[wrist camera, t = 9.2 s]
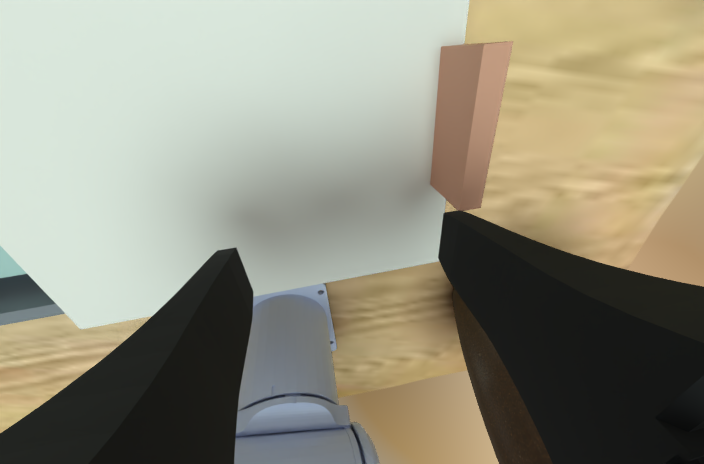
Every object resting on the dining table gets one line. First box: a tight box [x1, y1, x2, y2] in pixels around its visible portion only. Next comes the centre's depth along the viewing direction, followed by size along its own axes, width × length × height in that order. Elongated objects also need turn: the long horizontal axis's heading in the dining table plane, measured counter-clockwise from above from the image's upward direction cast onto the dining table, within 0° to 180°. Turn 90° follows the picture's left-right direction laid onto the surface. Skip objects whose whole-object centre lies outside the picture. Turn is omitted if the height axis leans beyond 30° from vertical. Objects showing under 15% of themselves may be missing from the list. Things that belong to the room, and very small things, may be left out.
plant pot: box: [452, 288, 553, 464], centre depth 22 cm, size 15×15×16 cm
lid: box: [0, 0, 513, 329], centre depth 11 cm, size 17×21×4 cm
